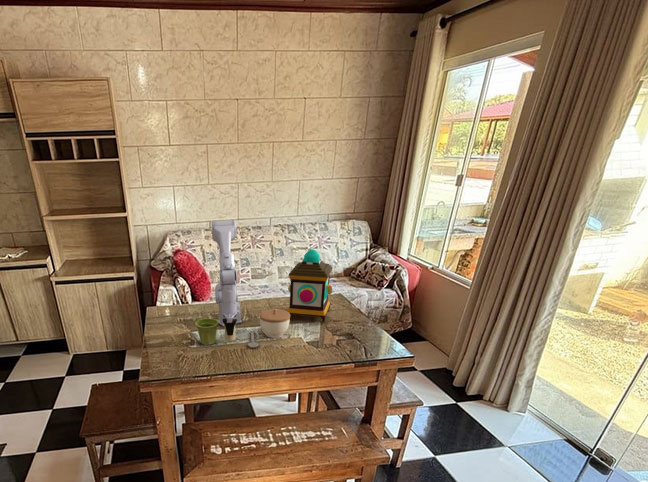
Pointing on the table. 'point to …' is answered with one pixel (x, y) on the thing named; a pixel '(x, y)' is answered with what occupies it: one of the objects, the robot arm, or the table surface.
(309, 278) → the decorative lantern
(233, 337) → the shaker
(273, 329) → the lidded bowl
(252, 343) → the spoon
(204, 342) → the plant pot
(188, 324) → the table surface
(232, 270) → the robot arm
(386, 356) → the table surface
